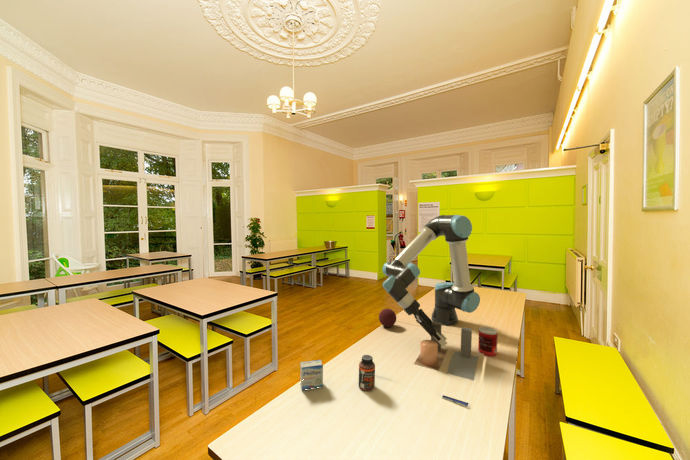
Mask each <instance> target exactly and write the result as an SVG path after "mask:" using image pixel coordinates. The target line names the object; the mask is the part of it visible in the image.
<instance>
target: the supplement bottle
mask: <svg viewBox="0 0 690 460" xmlns="http://www.w3.org/2000/svg"><path fill="white" fill-rule="evenodd" d="M373 359H374V357H373V356H372V355H370V354H364V355H362V356H361V360H360V361H359V364H358V388H360V390H362V391H364V392H370V391H373V390H375V389H374V388H375V381H376V379H375V378H376V364H375V362H374V361H373Z"/></svg>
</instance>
